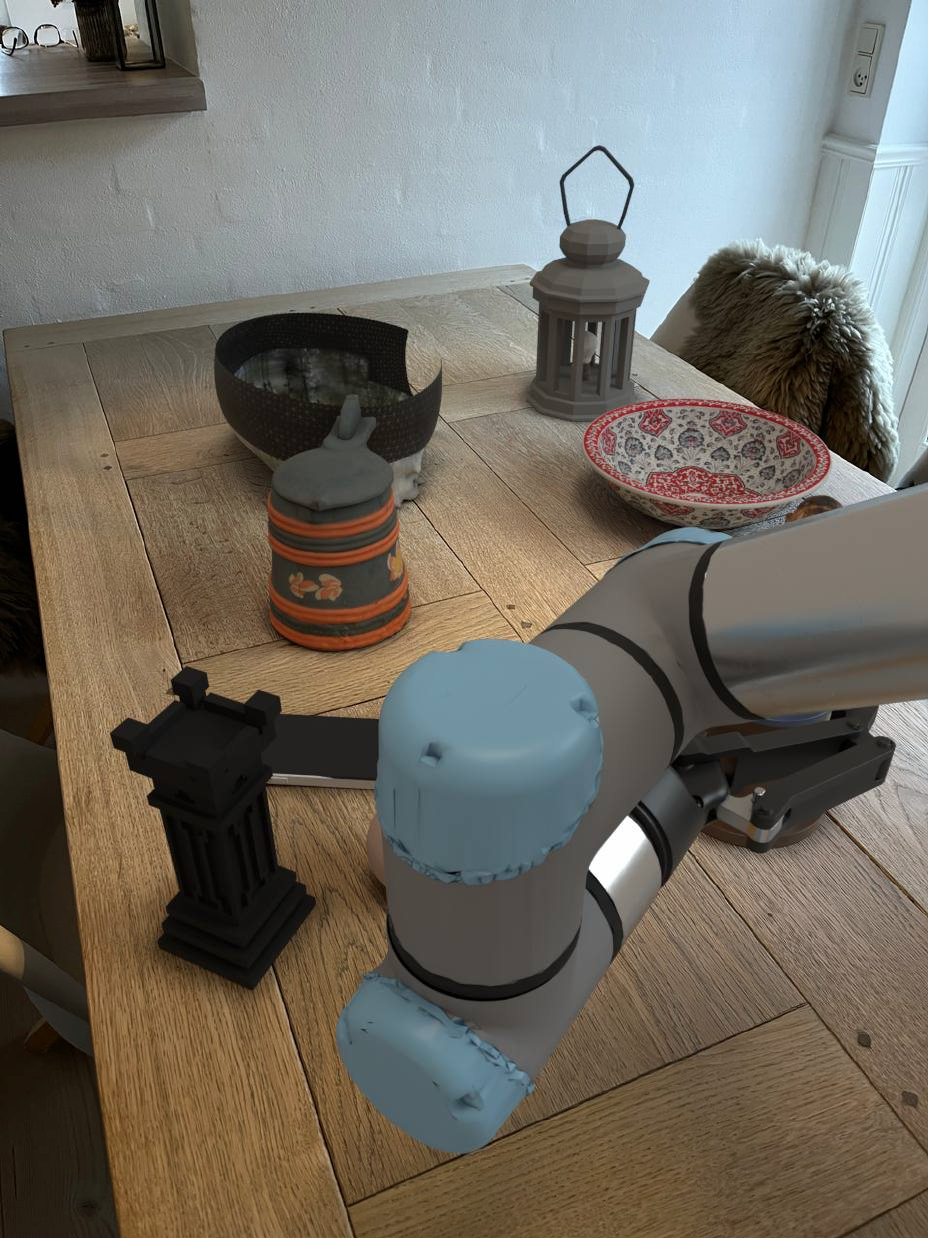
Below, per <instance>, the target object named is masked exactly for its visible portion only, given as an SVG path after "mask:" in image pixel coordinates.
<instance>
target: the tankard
mask: <svg viewBox="0 0 928 1238" xmlns="http://www.w3.org/2000/svg"><path fill="white" fill-rule="evenodd" d="M375 428H376V418H375V417H363V418H362V417H361V412H360V405H359V398H358V396H357V395H354V394H353V395H347V396H346V398H345V401H344V404H343V406H342V410H341V415H340V416H337V419H336V422H335V424H334V426H333V428H332V430H331V432H330V433H329V435H328V436H327V437H326V438H325V439H324V440H323V443H322V446H321V447H320V448H317V449H312V450H309V451H305V452H302V453H300V454H297V455H295V456H293V457H291V458H289V459H287V460H286V461H284V462H283V463H282V464H281V465H279V466H278V467H277V469H276V470H275V472H274V471H273V474H272V479H271V486H270V491H269V492H268V496H267V540H268V541H267V542H268V544H269V546H270V548H271V570H270V572H269V576H268V598H269V619H270V622H271V624H272V626H273V628H274V629H275V630H276V631H277V632H278V633H280V634H281V635H282V636H283V637H285V638H286V639H288V640H290V641H291V642H293V643H295V644H296V645H298V646H301V647H305V648H307V649H311V650H319V651H324V652H338V651H339V652H340V651H346V650H347V651H348V650H355V649H361V648H365V647H369V646H373V645H376V644H378V643H380V642H382V641H383V640H386V638H388V637H392V636H393V635H394V634H395V633H398V632H400V631H401V630H402V628H403V627H404V625H405V624H406V622H407V621H408V620H409V619H410V616H411V612H412V604H411V594H410V590H409V572H408V570H407V566H406V563H405V561H404V559H403V554H402V549H401V543H400V537H399V535H400V530H401V529H400V520H399V515H398V511H397V508H396V506H395V499H394V495H393V488H392V484H393V481H394V478H393V476H394V474H393V470H392V467H391V466H390V464H389V463H388V462H387V461H385V460H384V459H383V458H382V457H380V456H379V455H377V454H375V453H373V452H372V451H370V450H369V449H368V448H367V444H366V443H367V441H368V439H369V437H370V435H371V433H372V431H373V430H374V429H375Z"/></svg>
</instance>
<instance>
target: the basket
mask: <svg viewBox="0 0 928 1238" xmlns="http://www.w3.org/2000/svg"><path fill="white" fill-rule="evenodd" d="M409 332H410V331H409V330H408V328H405V327H402V326H398V325H396V324H393V323H390V322H386V321H381V320H378V319H377V320H376V319H371V318H367V317H363V316H362V317H361V316H353V315H348V314H347V315H346V314H337V313H329V312H328V313H327V312H326V313H325V312H283V313H282V312H281V313H275V314H274V313H273V314H267V315H261V316H256V317H253V318H250V319H247V320H243V321H241V322H238V323H237V324H235V325H233V326H231V327H229V328H228V329H226V330H225V331H224V332H222V334H221V335H220V336H219V337H218V339H217V341H216V342H215V348H214V356H213V357H214V358H213V364H214V365H213V375H214V376H213V377H214V385H215V392H216V396H217V400H218V404H219V408H220V410H221V412H222V415H223V417H224V418H225V421H226V423H227V425H228V427H229V428H230V429H231V431H232V432H233V433H234V435H235V436H236V437H237V438H238V440H239V441H240V442H241V443H242V444H243V445H244V446H246V447H247V448H248V449H249V450H250V451H251V452H252V453H253V454H254V455H256V456H257V457H258V458H259V459H260V460H261V461H262V462H263V463H265V464H266V465H267V466H268V468H269V469H271V470H272V471H273V473H274V472H275V470H276V469H277V467H278V466H279V465H281V464H282V463H283V462H284V461H286V460H287V459H289V458H291V457H293V456H295V455H297V454H300V453H302V452H305V451H309V450H312V449H317V448H320V447H321V446H322V443H323V440H324V439H325V438H326V437H327V436H328V435H329V433H330V432H331V430H332V428H333V426H334V424H335V422H336V419H337V416H340V415H341V410H342V406H343V404H344V401H345V398H346V396H347V395H353V394H354V395H357V396H358V398H359V405H360V412H361V417H362V418H363V417H375V418H376V428H375V429H374V430H373V431H372V433H371V435H370V437H369V439H368V441H367V443H366V444H367V448H368V449H369V450H370V451H372V452H373V453H375V454H377V455H379V456H380V457H382V458H383V459H384V460H385V461H387V462H388V463H389V464H390V466H391V467H392V470H393V474H394V476H393V478H394V481H393V484H392V488H393V495H394V499H395V506H396V509H398V508H400V507H402V504H401V503H403V501H404V500H408V501H410V500H415V499H416V498H417V497H418V496H419V494H420V491H421V490H420V487H419V484H422V485H423V484H424V483H426V480H425V478H424V477H422V476H420V475H419V474H420V473H421V469H422V465H421V463H422V458H423V457H424V454H425V451H426V449H427V447H428V445H429V443H430V441H431V439H432V437H433V434H434V432H435V430H436V427H437V424H438V420H439V416H440V413H441V412H440V411H441V406H442V405H441V404H442V398H443V397H442V396H443V395H442V394H443V363H442V360H440V369H439V372H438V373H437V375H436V377H435V378H434V379H433V380H432V381H431V383H429V385H427V386H426V387H425V388H423V390H421V391H420V392H419V391H418V393H415V394H414V393H413V391H412V389H411V386H410V383H409V382H410V381H409V378H408V371H407V360H406V358H407V357H406V355H407V354H406V353H407V350H406V349H407V341H408V338H409Z"/></svg>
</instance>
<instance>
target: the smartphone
mask: <svg viewBox="0 0 928 1238" xmlns="http://www.w3.org/2000/svg"><path fill="white" fill-rule="evenodd" d="M274 724H275V731H276V738H275V739H274V740H273V741H272V742H271V743H270V745H269V746H268V747H267V748H266V749H265V750H264V751H263V752H262V753H261V759H262V763H263V764H265V765H268V766H271V767H272V772H273V776H272V777H271V779H270V780H269V781H268V782H267V783H266V784H271V785H272V784H273V785H286V786H287V785H288V786H289V785H290V786H309V787H323V788H324V787H326V788H344V789H360V790H361V789H363V790H374V789H375V787H374V786H375V782H376V779H377V763H378V759H379V718H371V717H370V718H369V717H350V716H349V717H348V716H330V715H329V716H328V715H313V714H312V715H311V714H309V715H308V714H293V713H280V714H279V715H278V716H277V717H276V718H275V719H274Z"/></svg>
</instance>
